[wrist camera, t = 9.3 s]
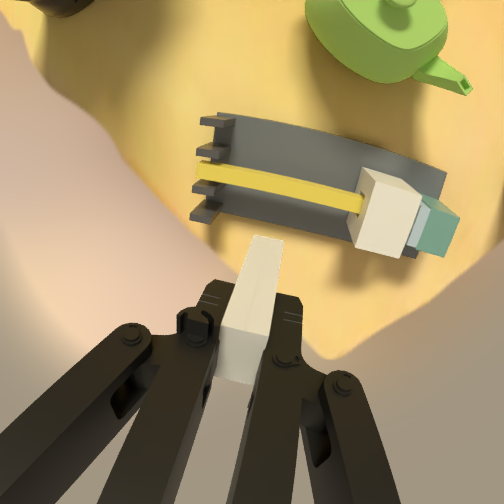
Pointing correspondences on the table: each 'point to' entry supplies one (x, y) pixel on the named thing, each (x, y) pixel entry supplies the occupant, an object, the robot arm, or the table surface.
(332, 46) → the teapot
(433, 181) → the cable comb board
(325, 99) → the table surface
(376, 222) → the sleeve
